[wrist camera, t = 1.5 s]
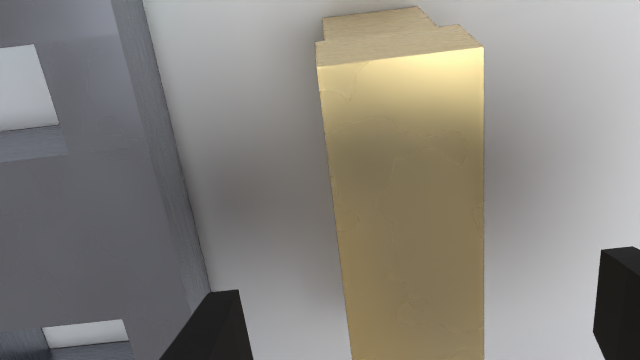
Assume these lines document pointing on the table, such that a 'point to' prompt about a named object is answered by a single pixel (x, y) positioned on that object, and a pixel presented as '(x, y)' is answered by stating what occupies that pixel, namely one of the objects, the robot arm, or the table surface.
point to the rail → (94, 190)
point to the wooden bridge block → (406, 182)
